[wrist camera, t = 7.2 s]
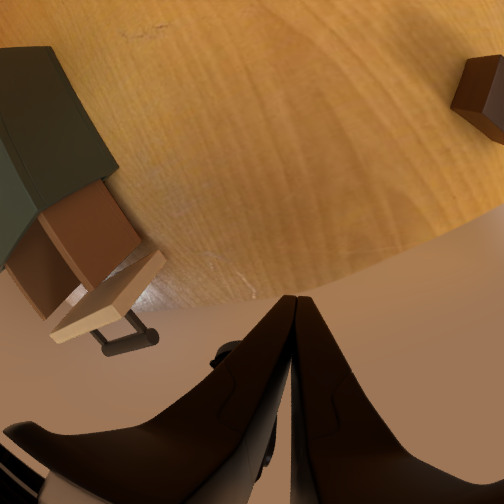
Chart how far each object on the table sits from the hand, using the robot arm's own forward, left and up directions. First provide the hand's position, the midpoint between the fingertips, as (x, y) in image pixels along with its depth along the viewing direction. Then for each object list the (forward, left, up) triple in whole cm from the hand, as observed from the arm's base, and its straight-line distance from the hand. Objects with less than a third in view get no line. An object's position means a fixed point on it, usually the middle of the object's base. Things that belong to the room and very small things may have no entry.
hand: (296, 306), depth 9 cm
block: (+1, -15, -12) cm, 19 cm away
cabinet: (+16, +18, -12) cm, 27 cm away
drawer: (+5, +18, -11) cm, 22 cm away
